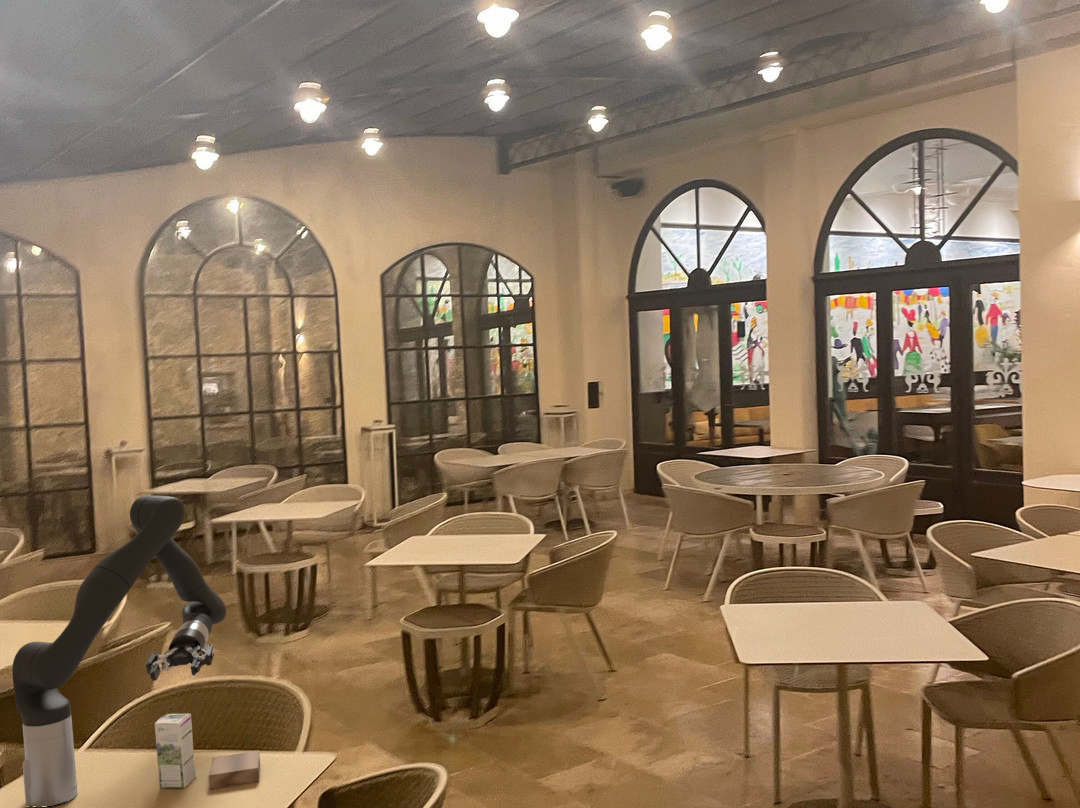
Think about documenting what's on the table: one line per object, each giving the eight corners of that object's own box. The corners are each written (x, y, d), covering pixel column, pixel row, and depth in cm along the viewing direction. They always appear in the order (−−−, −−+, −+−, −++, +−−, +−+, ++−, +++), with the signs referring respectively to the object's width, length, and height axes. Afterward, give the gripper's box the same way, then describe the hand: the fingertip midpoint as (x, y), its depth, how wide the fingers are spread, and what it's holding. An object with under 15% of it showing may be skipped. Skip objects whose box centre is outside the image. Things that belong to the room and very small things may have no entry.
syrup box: (196, 777, 212) (191, 711, 211) (184, 789, 206) (179, 722, 205) (171, 777, 212) (166, 712, 212) (158, 789, 206) (153, 722, 206)
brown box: (209, 789, 205) (208, 775, 205) (213, 770, 215) (212, 757, 215) (259, 781, 208) (258, 767, 208) (260, 763, 217) (259, 750, 217)
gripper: (156, 631, 230) (137, 663, 214) (217, 623, 231) (203, 654, 216) (161, 660, 232) (143, 694, 216) (222, 651, 233) (208, 684, 217)
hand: (173, 674), depth 216 cm, fingers open, 8 cm apart
